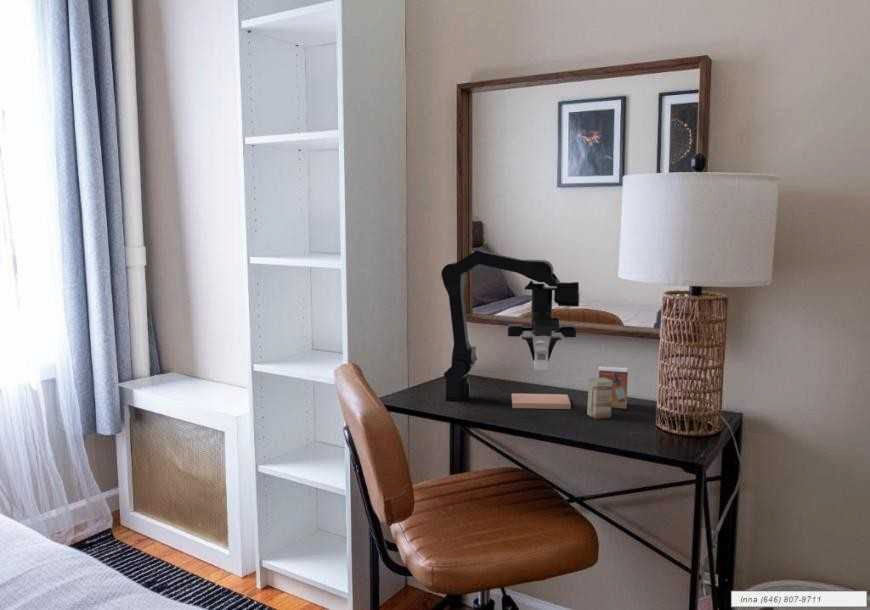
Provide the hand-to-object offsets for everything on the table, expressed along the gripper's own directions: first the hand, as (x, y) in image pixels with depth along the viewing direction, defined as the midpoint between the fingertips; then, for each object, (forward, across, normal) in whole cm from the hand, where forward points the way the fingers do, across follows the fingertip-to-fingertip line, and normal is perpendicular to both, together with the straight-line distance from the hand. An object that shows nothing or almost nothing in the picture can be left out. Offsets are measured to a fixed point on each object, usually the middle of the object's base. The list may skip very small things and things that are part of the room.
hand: (540, 360), depth 203 cm
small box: (+13, +20, 0) cm, 24 cm away
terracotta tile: (+12, 0, 0) cm, 13 cm away
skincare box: (+13, +15, -11) cm, 23 cm away
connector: (+2, 0, 0) cm, 2 cm away
